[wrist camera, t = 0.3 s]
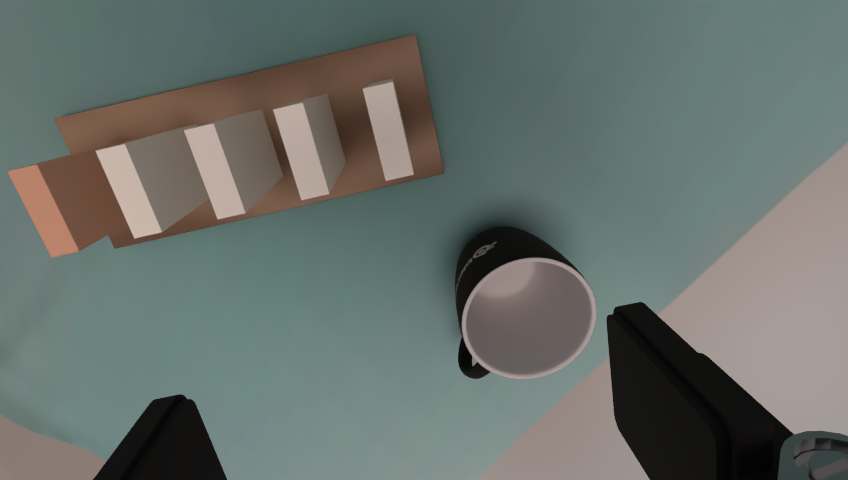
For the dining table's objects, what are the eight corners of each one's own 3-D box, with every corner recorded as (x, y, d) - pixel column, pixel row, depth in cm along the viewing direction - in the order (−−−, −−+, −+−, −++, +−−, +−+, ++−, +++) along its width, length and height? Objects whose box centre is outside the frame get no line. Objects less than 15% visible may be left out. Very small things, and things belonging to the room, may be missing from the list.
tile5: (139, 209, 37) (51, 257, 28) (110, 144, 35) (7, 171, 26) (159, 204, 37) (79, 251, 27) (132, 139, 35) (36, 164, 26)
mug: (478, 193, 39) (505, 233, 30) (571, 240, 41) (624, 292, 32) (410, 314, 43) (415, 385, 33) (498, 353, 44) (527, 431, 35)
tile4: (200, 195, 37) (134, 238, 27) (175, 129, 35) (95, 150, 26) (221, 190, 37) (162, 232, 27) (196, 124, 35) (124, 143, 26)
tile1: (387, 152, 37) (385, 181, 27) (371, 83, 35) (362, 88, 26) (408, 147, 37) (414, 174, 27) (392, 78, 35) (392, 81, 25)
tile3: (262, 181, 37) (217, 219, 27) (240, 113, 35) (183, 130, 26) (283, 176, 37) (245, 213, 27) (262, 108, 35) (213, 123, 26)
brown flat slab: (65, 117, 36) (54, 118, 34) (414, 35, 35) (415, 34, 34) (122, 243, 39) (114, 248, 38) (442, 170, 39) (444, 173, 37)
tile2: (325, 166, 37) (301, 200, 27) (305, 98, 35) (272, 109, 26) (345, 161, 37) (329, 193, 27) (327, 93, 35) (302, 102, 26)
